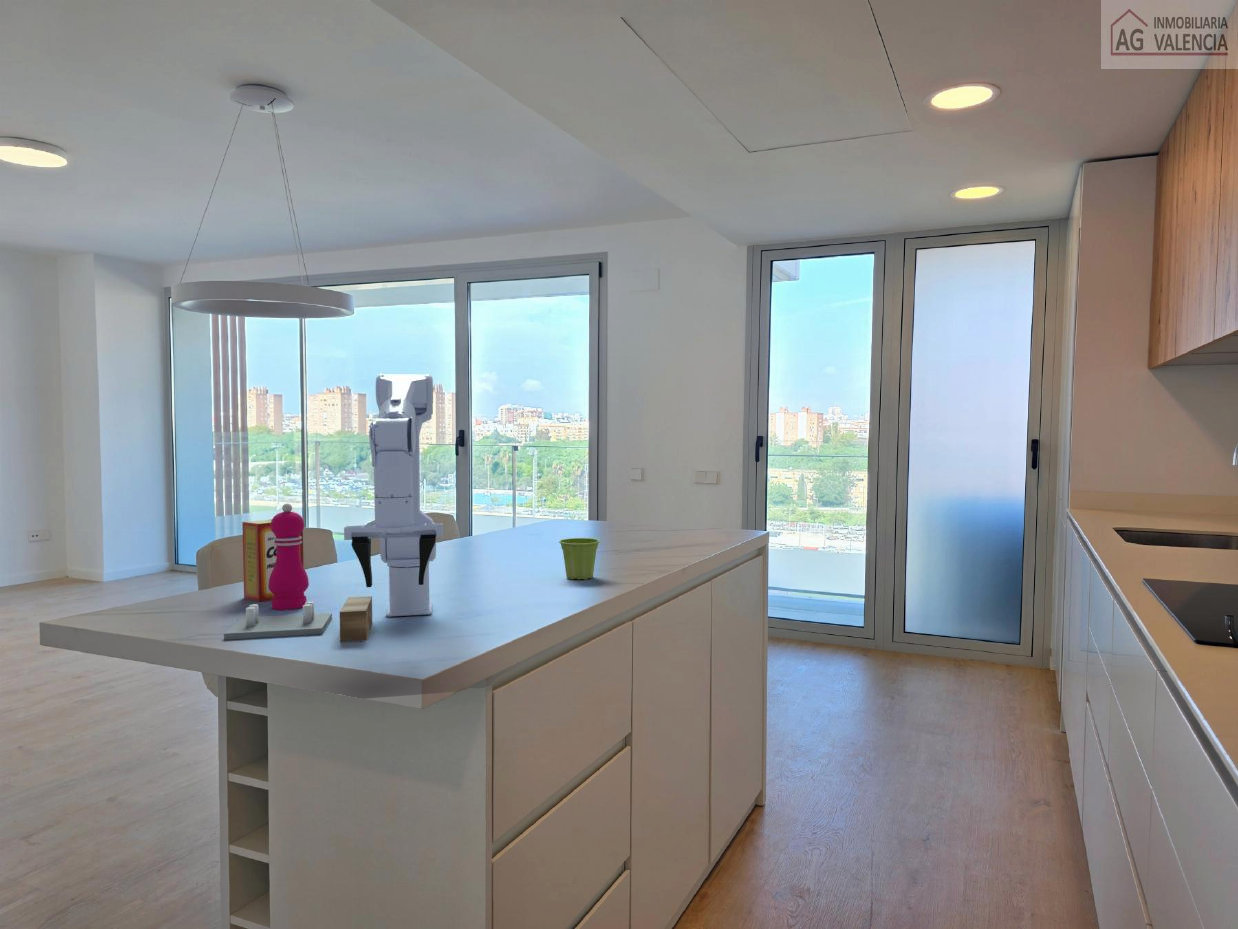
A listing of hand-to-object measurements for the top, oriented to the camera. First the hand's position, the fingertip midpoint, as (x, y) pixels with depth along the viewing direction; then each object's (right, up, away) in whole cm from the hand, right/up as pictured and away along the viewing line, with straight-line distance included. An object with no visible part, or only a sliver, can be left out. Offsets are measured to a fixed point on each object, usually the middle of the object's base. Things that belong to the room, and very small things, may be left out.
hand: (395, 585), depth 122 cm
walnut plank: (-9, -10, +11) cm, 17 cm away
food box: (-37, -9, +42) cm, 57 cm away
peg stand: (-23, -10, +14) cm, 29 cm away
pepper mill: (-30, -9, +32) cm, 44 cm away
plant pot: (+25, -8, +61) cm, 67 cm away
